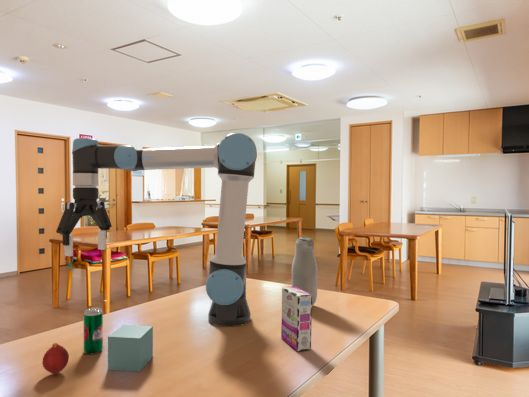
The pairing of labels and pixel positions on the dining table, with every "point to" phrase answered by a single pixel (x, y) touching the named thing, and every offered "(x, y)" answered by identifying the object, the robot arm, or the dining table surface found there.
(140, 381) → the dining table surface
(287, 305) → the candy bar box
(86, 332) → the soda can
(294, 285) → the grey bottle
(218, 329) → the dining table surface
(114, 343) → the seafoam cube
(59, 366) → the pomegranate
